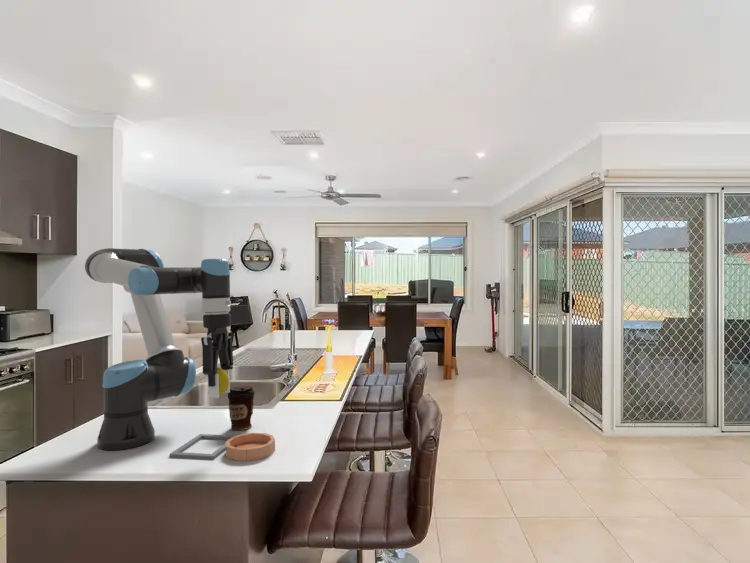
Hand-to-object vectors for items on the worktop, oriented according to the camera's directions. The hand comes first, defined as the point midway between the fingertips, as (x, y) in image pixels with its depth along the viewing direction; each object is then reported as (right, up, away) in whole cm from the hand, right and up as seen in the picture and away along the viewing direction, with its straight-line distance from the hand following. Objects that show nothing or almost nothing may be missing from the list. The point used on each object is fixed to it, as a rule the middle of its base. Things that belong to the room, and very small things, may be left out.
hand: (219, 394), depth 132 cm
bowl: (+9, -15, -2) cm, 18 cm away
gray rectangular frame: (-4, -16, +2) cm, 16 cm away
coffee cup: (+1, -15, +19) cm, 24 cm away
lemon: (0, -1, 0) cm, 1 cm away
